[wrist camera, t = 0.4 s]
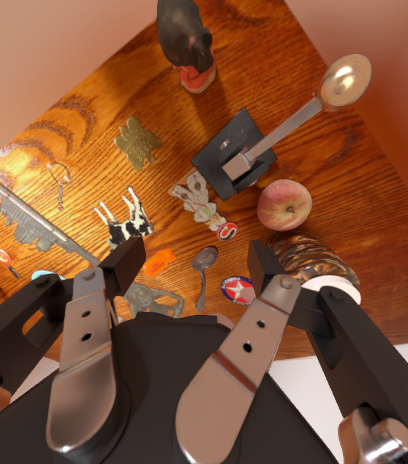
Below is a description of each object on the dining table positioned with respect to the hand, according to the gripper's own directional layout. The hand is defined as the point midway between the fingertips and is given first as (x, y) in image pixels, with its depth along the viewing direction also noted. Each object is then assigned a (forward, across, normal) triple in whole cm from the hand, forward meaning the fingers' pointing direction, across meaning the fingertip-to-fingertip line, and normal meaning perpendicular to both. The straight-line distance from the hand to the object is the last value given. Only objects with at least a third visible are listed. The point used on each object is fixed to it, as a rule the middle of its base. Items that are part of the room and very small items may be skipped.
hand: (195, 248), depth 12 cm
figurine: (+24, +2, -17) cm, 30 cm away
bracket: (+23, -5, -5) cm, 24 cm away
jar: (+23, -19, +14) cm, 33 cm away
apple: (+23, -14, +2) cm, 27 cm away
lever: (+10, -8, -9) cm, 15 cm away
